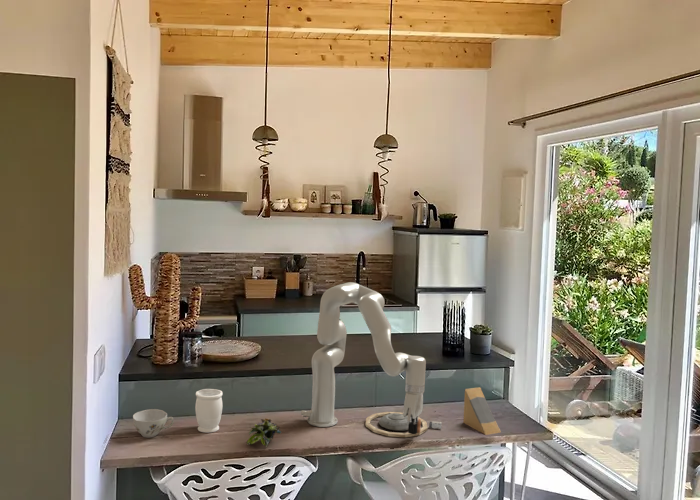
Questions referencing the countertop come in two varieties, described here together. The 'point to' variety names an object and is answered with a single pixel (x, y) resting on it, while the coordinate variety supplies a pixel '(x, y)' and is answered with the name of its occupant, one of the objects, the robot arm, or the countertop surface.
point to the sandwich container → (478, 412)
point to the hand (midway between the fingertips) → (412, 432)
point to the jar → (208, 409)
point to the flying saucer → (394, 422)
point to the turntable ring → (372, 428)
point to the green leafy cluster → (263, 432)
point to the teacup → (151, 422)
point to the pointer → (435, 425)
